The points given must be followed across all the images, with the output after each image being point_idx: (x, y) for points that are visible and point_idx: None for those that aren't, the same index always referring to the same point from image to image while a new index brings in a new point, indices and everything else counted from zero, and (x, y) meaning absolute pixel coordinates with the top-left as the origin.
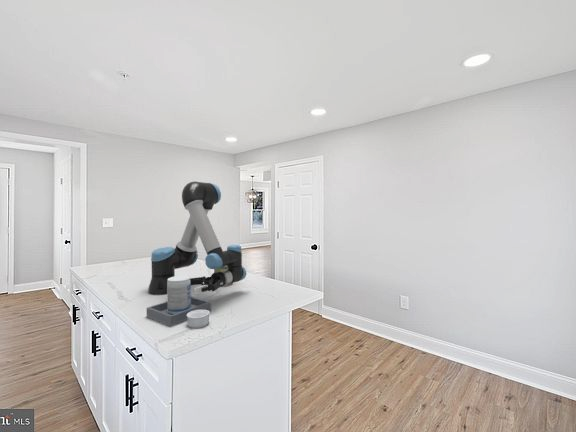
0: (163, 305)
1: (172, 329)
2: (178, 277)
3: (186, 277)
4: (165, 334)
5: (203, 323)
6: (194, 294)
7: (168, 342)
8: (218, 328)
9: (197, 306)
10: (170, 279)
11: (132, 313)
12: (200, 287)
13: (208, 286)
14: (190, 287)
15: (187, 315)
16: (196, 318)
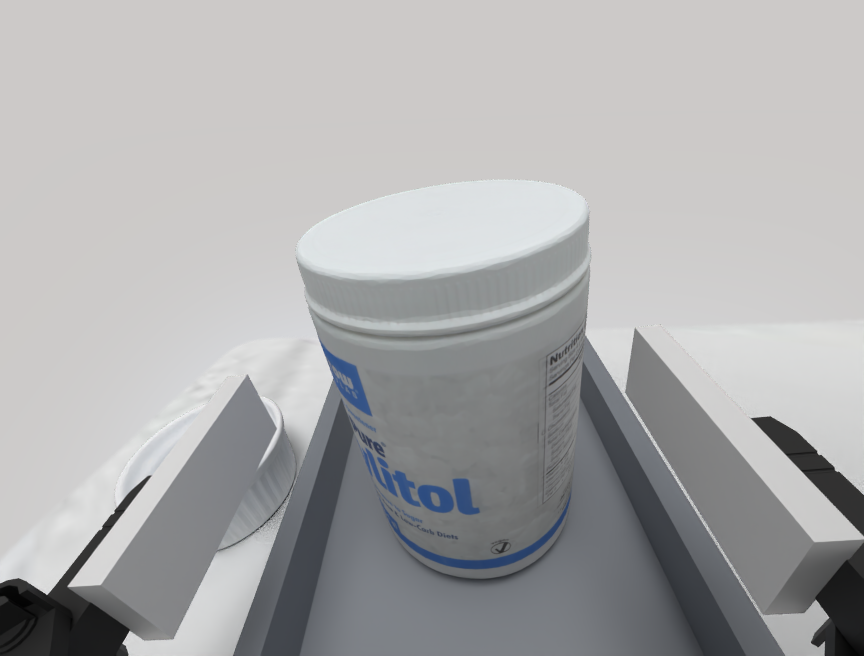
0: (600, 407)
1: (329, 388)
2: (476, 213)
3: (370, 248)
4: (323, 362)
5: None
6: (267, 426)
7: (270, 351)
8: (77, 525)
9: (288, 525)
10: (464, 186)
11: (693, 343)
12: (182, 445)
13: (50, 605)
14: (346, 391)
15: (262, 400)
16: (191, 414)
